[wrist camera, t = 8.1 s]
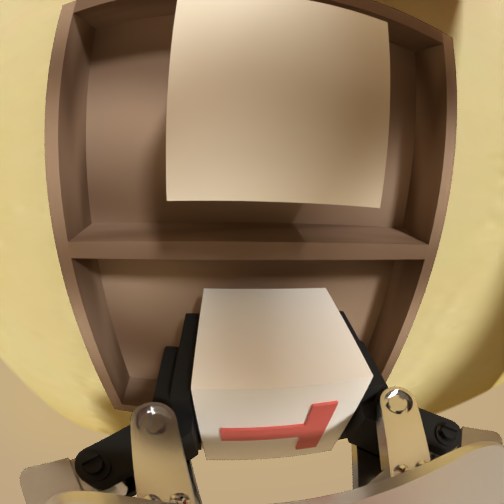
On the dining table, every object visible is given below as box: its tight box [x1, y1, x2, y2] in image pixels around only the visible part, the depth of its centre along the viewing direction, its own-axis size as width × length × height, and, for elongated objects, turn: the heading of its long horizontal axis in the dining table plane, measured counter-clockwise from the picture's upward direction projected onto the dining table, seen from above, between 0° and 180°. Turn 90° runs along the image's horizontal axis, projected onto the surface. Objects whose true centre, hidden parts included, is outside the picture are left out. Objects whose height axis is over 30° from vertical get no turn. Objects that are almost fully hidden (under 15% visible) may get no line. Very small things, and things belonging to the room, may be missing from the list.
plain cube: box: [166, 0, 390, 208], centre depth 7 cm, size 4×4×4 cm
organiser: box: [45, 0, 457, 412], centre depth 10 cm, size 18×14×3 cm
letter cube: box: [191, 288, 373, 460], centre depth 9 cm, size 4×4×5 cm
